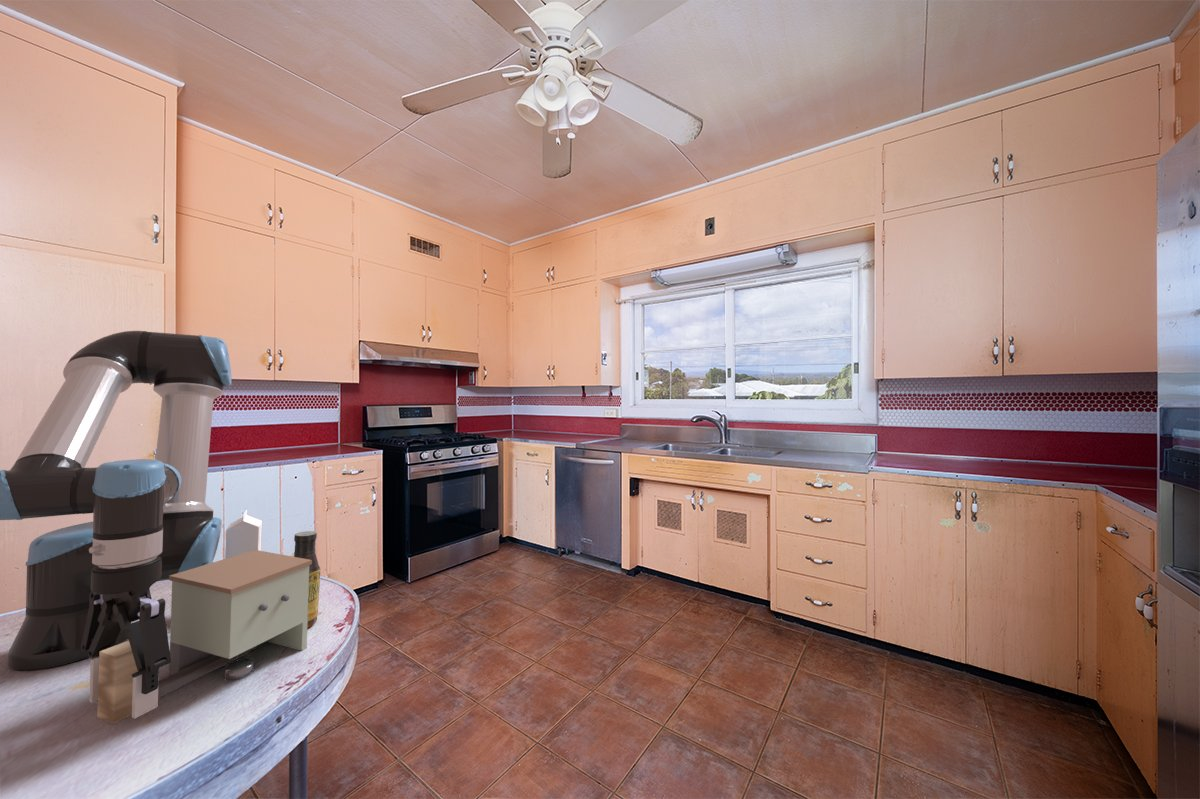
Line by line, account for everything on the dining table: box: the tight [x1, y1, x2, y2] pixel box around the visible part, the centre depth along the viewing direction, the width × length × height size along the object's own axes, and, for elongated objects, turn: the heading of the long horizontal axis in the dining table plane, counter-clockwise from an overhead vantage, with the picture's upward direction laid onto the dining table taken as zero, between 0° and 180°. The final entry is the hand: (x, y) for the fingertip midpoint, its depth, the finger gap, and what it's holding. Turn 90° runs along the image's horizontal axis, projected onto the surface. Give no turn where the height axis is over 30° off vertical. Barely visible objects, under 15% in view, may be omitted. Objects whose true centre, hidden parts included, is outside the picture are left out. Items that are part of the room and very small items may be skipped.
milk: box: [224, 509, 263, 559], centre depth 104 cm, size 6×6×22 cm
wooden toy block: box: [96, 639, 257, 724], centre depth 77 cm, size 4×21×10 cm, turn 163°
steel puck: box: [224, 657, 255, 682], centre depth 78 cm, size 4×4×2 cm
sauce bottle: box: [293, 530, 321, 629], centre depth 95 cm, size 7×6×20 cm
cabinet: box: [168, 550, 312, 675], centre depth 83 cm, size 16×15×17 cm
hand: (123, 704), depth 69 cm, fingers open, 10 cm apart
